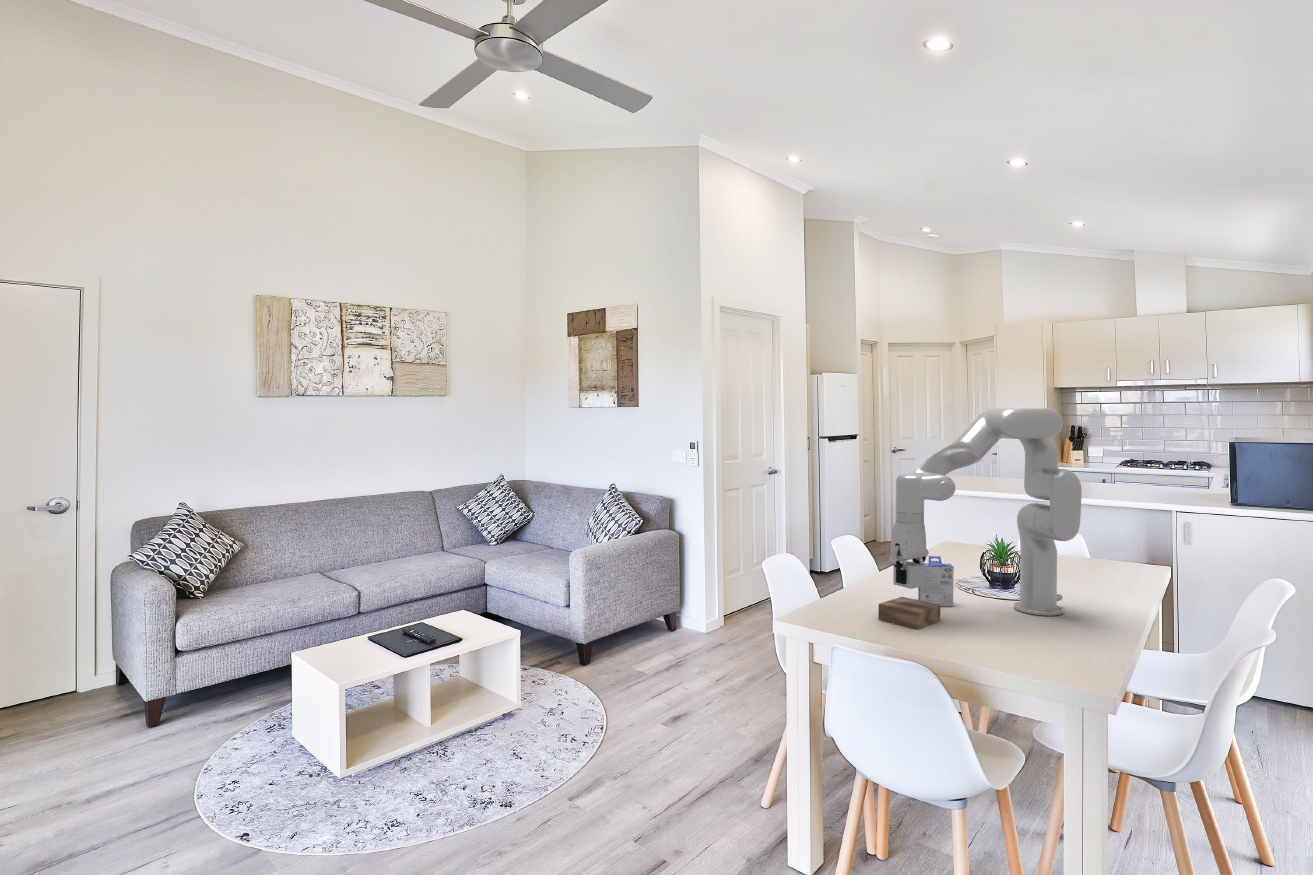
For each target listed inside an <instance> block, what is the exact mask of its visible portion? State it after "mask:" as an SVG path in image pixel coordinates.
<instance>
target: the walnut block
mask: <svg viewBox="0 0 1313 875" xmlns="http://www.w3.org/2000/svg"><path fill="white" fill-rule="evenodd" d="M878 620H879V621H881V622H885V623H888V622H889V624H892V623H893V625H896V626H897V625H898V626H902V627H905V628H908V629H912V630H917V631H919V630H920V629H923V628H926V627H929V626H931V625H934V624H937V623H939V622H941V606H940V605H938V604H934V603H929V602H925V601H920V600H918V599H914V598H911V597H905V596H899V597H896V598H893V599H889V600H887V601H883V602H880V603H878Z"/></svg>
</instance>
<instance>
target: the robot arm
mask: <svg viewBox="0 0 1313 875" xmlns="http://www.w3.org/2000/svg"><path fill="white" fill-rule="evenodd" d="M1063 426H1064V420H1063V417H1062V415H1061V414H1060V413H1059V411H1057V410H1055V409H1054V408H1046V407H1045V408H1044V407H1043V408H1039V407H1037V408H1036V407H1034V408H1032V407H1031V408H1030V407H1029V408H1023V407H1022V408H991V409H986V410H984V411H982V413H980V415H978V417H976V419H974V421H973V422H972V423H971V424H970V425H969V426H968V427H967V428H966V429H965V430H964V431H963V433H961V434H960V435H959V437H958V438H957V439H955V441H954V442H952V443H950V444H949V445H947V446H945V447H943V448H941V449H940V450H939V451H937V452H936V453H934V454H932V455H931V456H930V457H928V458H927V459H926V460H924V461H923V463H921V465H919V467H917V469H916V470H915V471H914V472H913V473H910V474H909V473H908V474H907V473H905V474H899V475H897V477H896V479H895V522H894V524H893V527H892V532H891V542H890V555H889V557H888V559H889V560H890V561H891V563H892V566H893V568H895V569H896V582H897V583H900V584H906V573H907V570H905V567H906V563H907V561H911V562H914V563H919V564H923V565H924V563H925V562H926V561H927V557H929V554H930V553H929V552H930V551H929V550H928V549H927V537H926V533H927V532H926V526H925V500H928V501H929V500H930V501H937V502H941V501H943V502H944V501H947V500H949V499H951V498H952V497H953V496H954V494H955V492H956V485H955V482H954V480H953V479H952V478H951V477H949V476H948V474H950V473H952V472H953V471H956V470H959V469H961V468H966V467H969V466H971V465H974V464H976V463H979V462H980V461H981V460H982V459H983V458H984V457H985V456H986V455H987V453H989V451H990V450H991V449H992V448H993V447H994V446H995V445H996V444H997V443H998V442H999V441H1000V440H1001V439H1008V440H1009V439H1011V440H1019V442H1020V443H1021V445H1022V447H1023V449H1024V474H1023V475H1024V477H1023V478H1024V480H1023V487H1024V491H1025V494H1026V495H1027V496H1029V497H1031V498H1034V499H1037V500H1043V501H1049V504H1045V503H1038V502H1036V503H1035V502H1031V503H1028V504H1025V505H1023V506H1022V507H1020V509H1019V511H1018V513H1017V518H1016V522H1017V523H1016V524H1017V528H1018V534H1019V541H1020V542H1019V543H1020V544H1019V545H1020V547H1019V548H1020V558H1019V559H1020V561H1019V562H1020V563H1019V564H1020V565H1019V567H1020V568H1019V569H1020V570H1019V571H1020V574H1019V582H1020V583H1019V601H1016V602H1014V604H1013V607H1014V609H1015V610H1016V611H1019V612H1021V613H1024V614H1028V615H1036V616H1044V617H1045V616H1047V617H1048V616H1049V617H1051V616H1052V617H1054V616H1059V615H1062V614H1063V610H1064V609H1063V608H1062V607H1061V606H1059V605H1058V604H1057V602H1058V601H1062V600H1063V598H1064V597H1063V594H1060V593H1057V592H1058V591H1057V589H1058V588H1057V586H1058V583H1057V582H1058V549H1057V546H1056V542H1055V541H1058V542H1067V541H1071V540H1073V539H1075V537H1076V536H1077V534H1078V532H1079V530H1080V527H1081V526H1080V525H1081V516H1082V515H1081V514H1082V496H1083V495H1082V494H1083V493H1082V489H1083V488H1082V484H1081V481H1080V479H1079V476H1077V474H1075V472H1073V471H1072V470H1069V469H1064V468H1059V457H1058V455H1059V454H1058V453H1059V452H1058V447H1057V444H1056V442H1055V439H1054V437H1057V435H1059V434H1060V433H1061V432H1062V429H1063ZM900 562H902V564H901V563H900Z"/></svg>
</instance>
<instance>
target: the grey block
mask: <svg viewBox="0 0 1313 875" xmlns="http://www.w3.org/2000/svg"><path fill="white" fill-rule="evenodd" d="M900 563H901V564H902V561H900ZM905 570H907V573H906V584H900V583H897V582H896V569H895V568H894V567H893V570H892V571H893V576H892V578H893V583H892V584H893V585H894V586H897V587H902V588H905V589H910V590H913V589H918V587H923V586H925V565H923V564H919V563H914V562H913V561H910V560H907V563H906V567H905Z"/></svg>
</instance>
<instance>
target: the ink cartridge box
mask: <svg viewBox="0 0 1313 875" xmlns="http://www.w3.org/2000/svg"><path fill="white" fill-rule="evenodd" d="M932 559H937V560H932ZM924 565H925V586H923V587H918V588H917V589H918V591H917V593H918V595H917V597H918V599H917V600H920V601H925V602H929V603H934V604H938V605H940V607H954V569H955V568H954V566H953V565H952V564H951V563H942V556H939V555H928V562H927V563H925V562H924Z"/></svg>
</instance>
